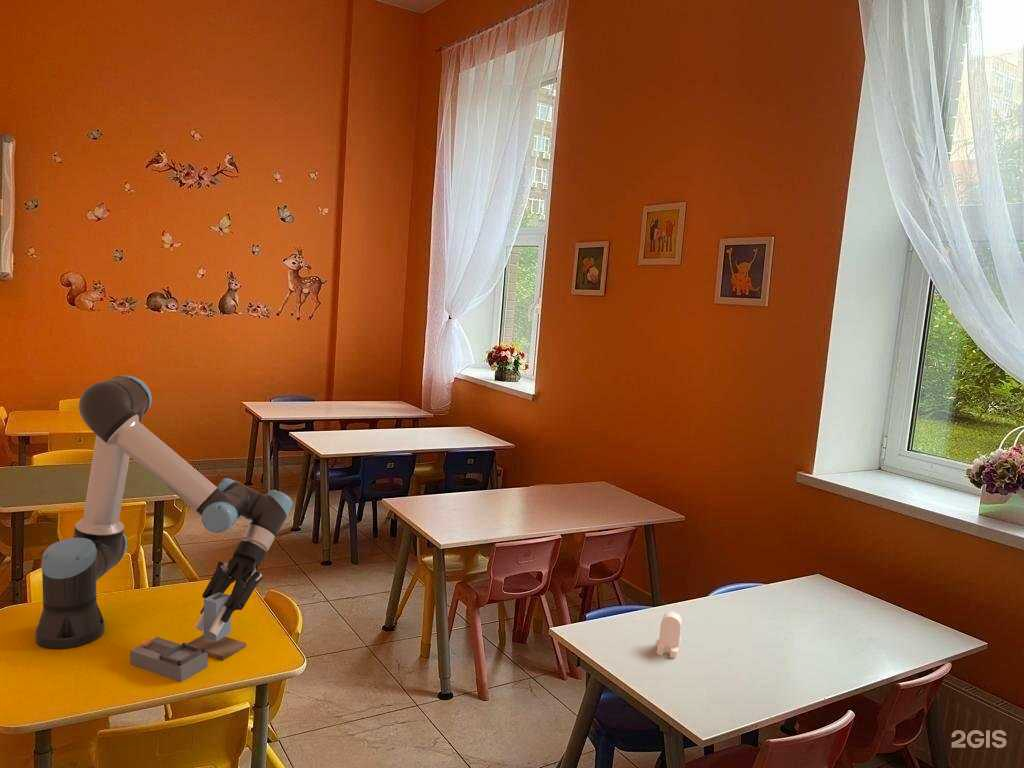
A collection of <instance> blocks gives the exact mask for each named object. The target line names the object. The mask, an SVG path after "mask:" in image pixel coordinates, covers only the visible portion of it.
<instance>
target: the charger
mask: <svg viewBox="0 0 1024 768" xmlns="http://www.w3.org/2000/svg"><path fill="white" fill-rule="evenodd" d="M230 595H231V594H227V593H225V592H224V593H221V592H218V593H216V594H214V595H212V596H209V597H207V598H205V599H204V598H203V607H204V630H203V635H204V638H207V639H210V640H214V641H217V640H219V639H221V638H223V637H227V636H229V634H231V633H232V615H231V616H230V618H229V620H228V622H227V623H224V625H223V627H222V628H221V630H220V632H219V634H218V636H216V635H214V634H212V633H211V632H210V631H209V630H210V629H211V627H212V625H213V623H214V622H215V620H216V618H217V616H218V615H219V613H220V611H221V609H222V607H223V606H224V607H226V608H227V606H226V605H225V604H227V603H228V601H229V598H230Z"/></svg>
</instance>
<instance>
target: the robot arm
mask: <svg viewBox="0 0 1024 768" xmlns="http://www.w3.org/2000/svg"><path fill="white" fill-rule="evenodd" d="M79 398H80V399H79V401H78V410H79V415H80V417H81V419H82V421H83V422H84V424H85V425H86V427H88V428H89V429H90V431H91V432H93V433H94V434H95V435H96V436H95V439H94V440H95V442H94V447H93V452H92V453H93V454H92V460H91V466H90V474H89V479H88V483H87V484H88V485H87V492H86V497H85V504H84V509H83V517H82V518H80V519H79V520H77V522H75V526H74V531H73V537H70V538H66V539H63V540H61V541H60V540H59V541H56V542H54V543H52V544H50V545H49V546H48V547H47V548H45V549H44V552H43V554H42V561H41V571H42V572H41V574H42V575H41V576H42V577H41V578H42V610H41V611H42V612H41V615H40V617H39V621H38V623H37V626H36V629H35V634H34V637H35V638H34V639H35V643H36V644H37V645H38V646H41V647H43V648H46V649H69V648H75V647H80V646H83V645H86V644H89V643H92V642H94V641H95V640H97V639H99V638H100V637H101V636H102V635H103V634H104V633H105V619H104V617H103V614H102V612H101V610H100V607H99V604H98V602H97V582H98V581H99V579H101V578H102V577H103V576H105V575H106V574H107V573H108V572H109V571H110V570H112V569H113V568H114V567H116V566H117V565H118V564H119V563H120V561H121V560H122V559H123V557H124V556H125V554H126V553H127V552H126V551H127V549H128V539H127V536H126V534H124V531H125V525H124V524H123V522H122V521H120V517H121V510H122V504H123V498H124V493H125V487H126V482H127V474H128V470H129V464H130V463H129V462H130V458H131V459H132V460H133V461H134V462H136V463H137V464H138V465H140V466H141V467H142V468H143V469H144V470H146V471H147V473H149V474H150V475H152V476H153V477H154V478H155V479H156V480H158V481H159V482H160V483H161V484H163V485H164V486H165V487H166V488H167V489H168V490H170V491H171V492H173V493H174V494H175V495H176V497H179V499H181V500H182V501H183V502H185V503H186V504H187V505H188V506H190V508H192V509H193V510H194V511H195V512H196V513H198V514H199V515H200V516H201V518H200V519H201V523H202V525H203V527H204V529H206V530H207V531H208V532H211V533H215V534H220V533H221V534H222V533H224V532H226V531H227V530H229V529H230V528H231V527H233V526H234V525H235V524H236V522H237V521H238V519H239V518H240V517H242V518H244V519H247V520H249V521H250V524H249V525H248V527H247V529H246V530H245V531H244V534H243V535H242V537H241V540H240V541H239V542H238V543H237V546H236V547H235V549H234V550H233V556H232V558H230V559H229V560H228V561H227V562H222V561H218V562H217V565H216V569H215V571H214V573H213V575H212V576H211V579H210V580H209V582H208V584H207V586H206V588H205V589H204V592H203V593H202V596H201V597H202V598H203V600H204V599H205V598H207V597H209V596H212V595H214V594H216V593H218V592H221V593H224V594H225V592H226V590H228V588H229V587H230V586H231V585H232V584H233V583H234V586H233V587H232V590H231V593H230V594H229V595H230V598H229V601H228V603H227V604H225V605H226V606H227V608H226V607H224V606H223V607H222V609H221V611H220V613H219V615H218V616H217V618H216V620H215V622H214V623H213V625H212V627H211V629H210V630H209V631H210V632H211V633H212V634H214V635H216V636H218V634H219V632H220V630H221V628H222V627H223V625H224V623H227V622H228V620H229V618H230V616H231V617H232V614H233V613H234V612H235V611H242V610H243V609H244V607H245V605H246V604H247V602H248V600H249V599H250V597H251V595H252V594H253V592H254V590H255V589H256V587H257V585H258V584H259V583H260V581H262V580H263V578H264V575H263V574H262V573H261V572H260V571H258V568H259V566H261V564H262V563H263V561H264V559H265V557H266V555H267V552H268V551H269V550H270V548H271V546H272V544H273V542H274V540H275V539H276V537H277V536H278V533H279V532H280V530H281V528H282V526H283V524H284V523H285V521H287V520H286V519H287V518H288V515H290V514H289V513H290V512H291V510H292V508H293V505H294V504H293V499H292V498H291V497H290V496H289V495H287V494H286V493H284V492H282V491H281V490H280V491H278V490H276V489H271V490H269V491H268V492H267V493H266V494H265V493H262V492H259V491H257V490H255V489H253V488H250V487H249V486H247V485H246V484H245V485H244V484H243V483H241V482H240V481H238V480H234V479H231V478H230V477H229V478H228V477H225V478H222V480H221V481H220V483H219V484H218V485H217V486H216V485H215V484H214V483H213V482H211V481H210V480H209V479H208V478H207V477H205V476H204V475H203V474H202V473H201V472H199V471H198V470H197V469H196V468H194V467H193V465H192V464H190V463H189V462H187V460H185V459H184V458H183V457H182V456H180V455H179V454H178V453H177V452H176V451H174V449H172V448H171V447H170V446H168V444H166V443H165V442H164V441H162V439H160V438H159V437H158V436H157V435H155V434H154V433H153V432H152V431H150V430H149V429H148V428H147V427H146V426H145V425H144V424H143V420H144V419H143V418H144V415H145V414H146V413H147V412H148V411H149V410H150V408H151V405H152V399H153V396H152V392H151V389H150V388H149V387H148V385H147V384H146V383H145V382H144V381H143V380H141V379H140V378H138V377H136V376H133V375H119V376H118V375H117V376H114V377H111V378H110V379H106V380H103V381H99V382H95V383H93V384H92V385H90V386H88V387H87V388H86V389H85V390H84V391H83V392H82V394H81V395H80V397H79ZM194 628H195V629H197V630H198V631H200V632H204V606H203V607H202V609H201V611H200V616H199V618H198V619H197V621H196V623H195V624H194Z"/></svg>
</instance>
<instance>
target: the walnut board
mask: <svg viewBox="0 0 1024 768" xmlns="http://www.w3.org/2000/svg"><path fill="white" fill-rule="evenodd" d="M186 643H187V644H190V645H193V646H196V647H199V648H202V649H204V652H206V653H208V657H211V658H215V659H217V660H220V661H224V660H227V659H228V658H230V657H231V656H234V655H235V654H236V653H238V652H241V649H242V650H243V649H245V648H246V647H247V642H244V641H240V640H239V639H235V638H231V637H228V636H225V637H223V638H221V639H219V640H217V641H214V640H210V639H207V638H204V634H202V635H201V636H199V637H197V638H195V639H194V640H193V639H192V640H191V641H189V642H186Z"/></svg>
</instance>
